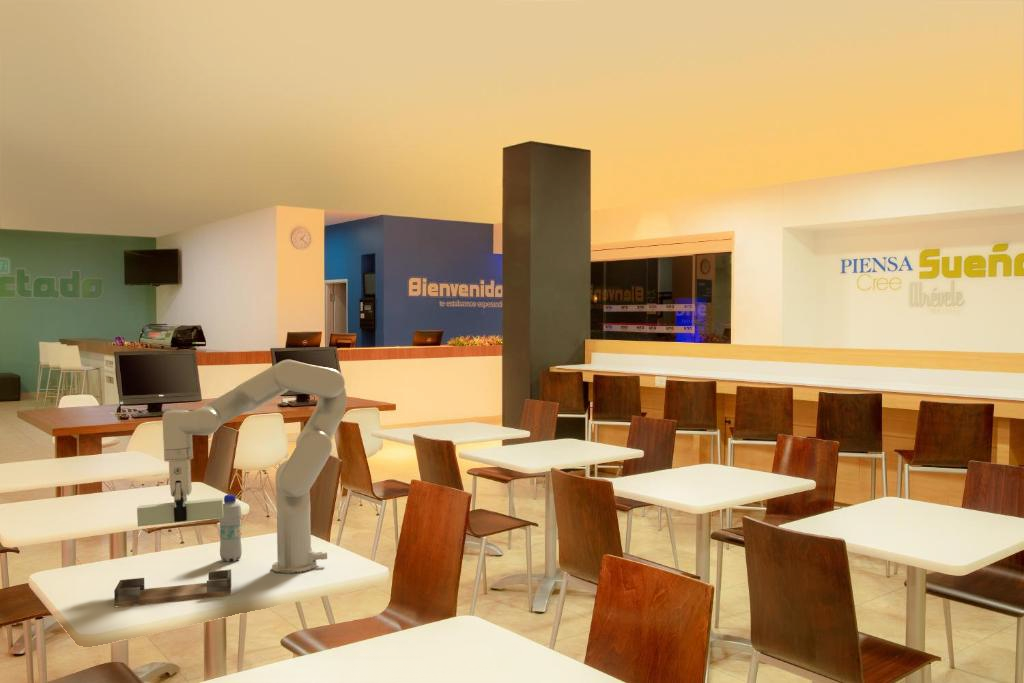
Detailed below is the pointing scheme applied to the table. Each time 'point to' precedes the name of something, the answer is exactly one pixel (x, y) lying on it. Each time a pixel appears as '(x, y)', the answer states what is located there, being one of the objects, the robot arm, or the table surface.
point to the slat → (165, 512)
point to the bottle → (230, 529)
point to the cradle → (172, 590)
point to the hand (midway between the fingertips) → (181, 518)
